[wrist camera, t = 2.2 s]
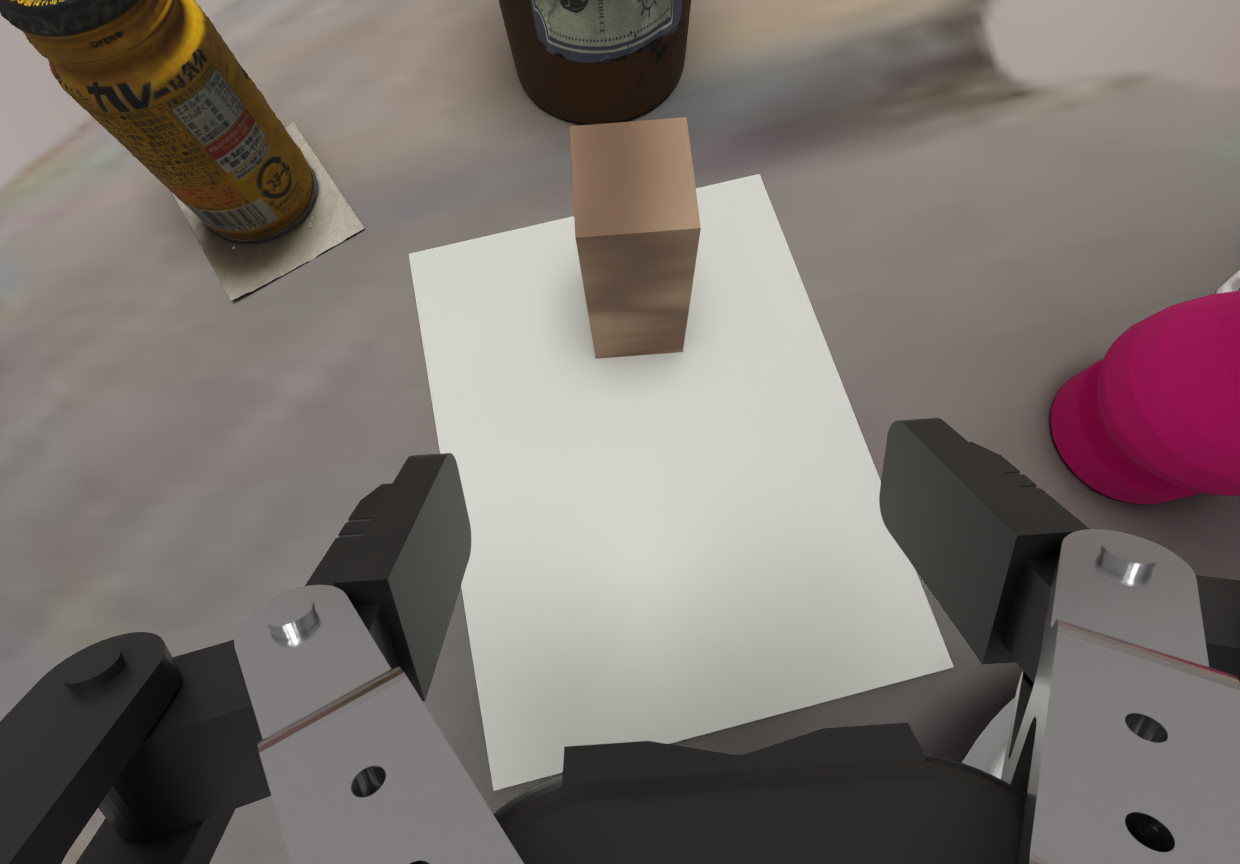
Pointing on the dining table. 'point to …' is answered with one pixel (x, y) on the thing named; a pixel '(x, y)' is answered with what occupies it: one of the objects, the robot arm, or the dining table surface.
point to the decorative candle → (1230, 284)
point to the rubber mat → (659, 498)
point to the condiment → (194, 129)
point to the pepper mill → (1159, 407)
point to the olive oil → (597, 54)
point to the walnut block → (635, 233)
